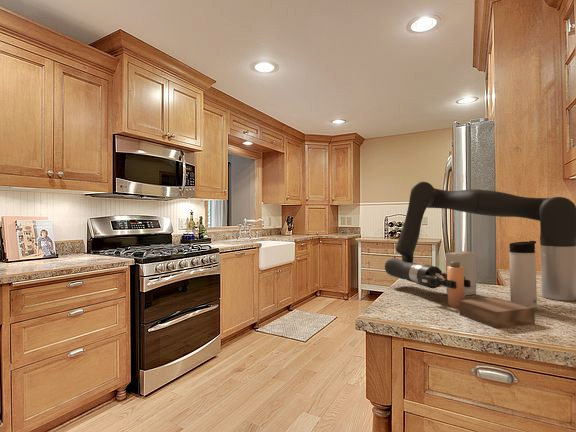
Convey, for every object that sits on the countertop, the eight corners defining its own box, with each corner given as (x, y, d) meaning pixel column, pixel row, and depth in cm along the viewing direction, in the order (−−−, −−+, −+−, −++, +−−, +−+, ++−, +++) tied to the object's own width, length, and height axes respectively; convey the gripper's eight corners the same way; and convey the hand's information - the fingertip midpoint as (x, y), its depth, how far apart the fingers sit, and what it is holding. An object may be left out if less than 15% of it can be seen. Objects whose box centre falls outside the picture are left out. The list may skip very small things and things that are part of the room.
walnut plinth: (494, 310, 94) (493, 297, 94) (534, 323, 82) (534, 307, 83) (459, 314, 91) (459, 300, 91) (496, 328, 80) (496, 312, 80)
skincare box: (463, 291, 119) (461, 250, 120) (477, 294, 114) (476, 252, 114) (445, 293, 117) (444, 252, 117) (459, 297, 111) (458, 253, 111)
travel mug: (543, 312, 92) (541, 241, 92) (517, 311, 93) (515, 241, 93) (531, 306, 98) (529, 240, 98) (507, 305, 99) (505, 240, 100)
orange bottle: (456, 303, 103) (455, 260, 103) (468, 306, 99) (467, 262, 99) (444, 304, 102) (443, 261, 102) (455, 308, 98) (454, 263, 98)
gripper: (407, 265, 113) (442, 273, 96) (442, 263, 116) (481, 270, 100) (407, 287, 112) (442, 299, 96) (442, 284, 116) (482, 295, 99)
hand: (462, 284), depth 98 cm, fingers closed on orange bottle, 4 cm apart
